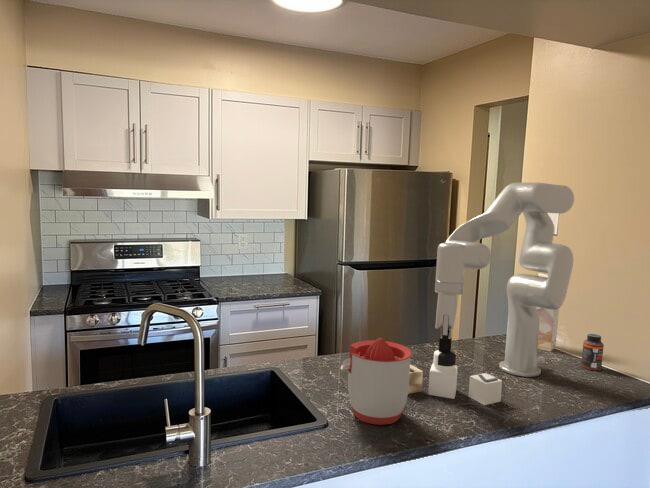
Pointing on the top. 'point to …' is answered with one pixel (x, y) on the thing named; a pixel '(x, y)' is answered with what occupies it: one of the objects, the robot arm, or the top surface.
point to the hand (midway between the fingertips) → (444, 351)
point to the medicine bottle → (443, 375)
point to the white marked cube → (485, 388)
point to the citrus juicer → (378, 380)
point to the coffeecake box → (547, 328)
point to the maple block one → (415, 380)
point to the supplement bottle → (592, 352)
